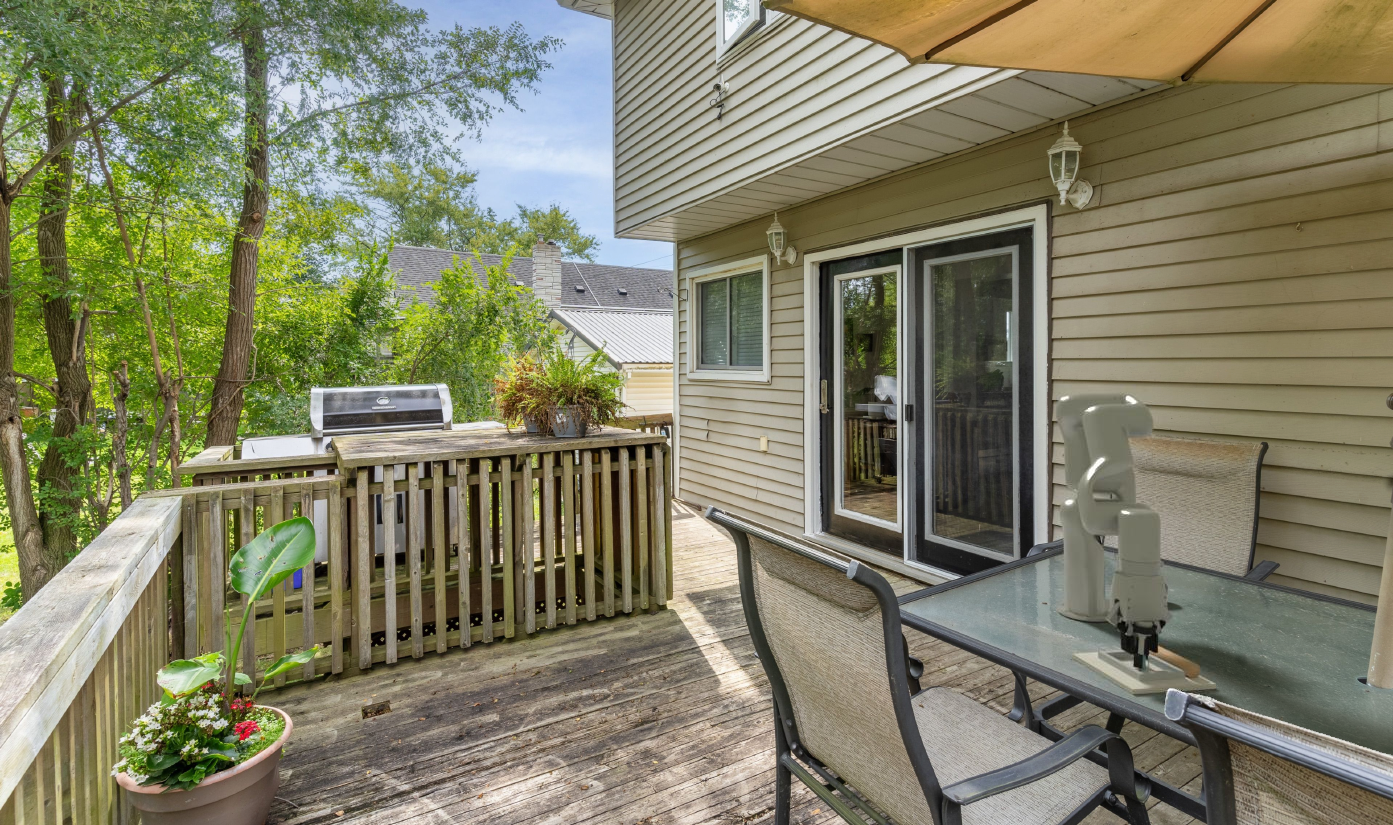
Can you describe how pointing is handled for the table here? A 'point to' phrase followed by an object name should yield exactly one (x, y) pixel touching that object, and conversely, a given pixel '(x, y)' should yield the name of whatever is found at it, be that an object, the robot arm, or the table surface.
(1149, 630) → the push button
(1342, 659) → the table surface
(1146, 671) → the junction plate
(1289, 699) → the table surface
